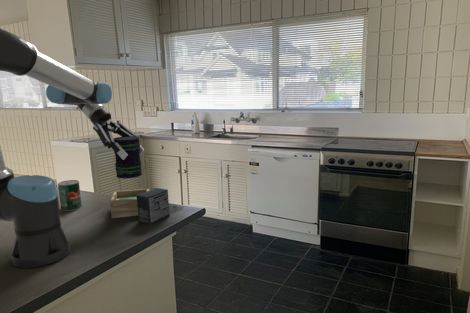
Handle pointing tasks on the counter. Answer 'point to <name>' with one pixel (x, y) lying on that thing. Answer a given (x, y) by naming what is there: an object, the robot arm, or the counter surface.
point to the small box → (153, 205)
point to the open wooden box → (125, 203)
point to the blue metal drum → (128, 158)
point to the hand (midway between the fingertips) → (134, 154)
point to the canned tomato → (69, 195)
